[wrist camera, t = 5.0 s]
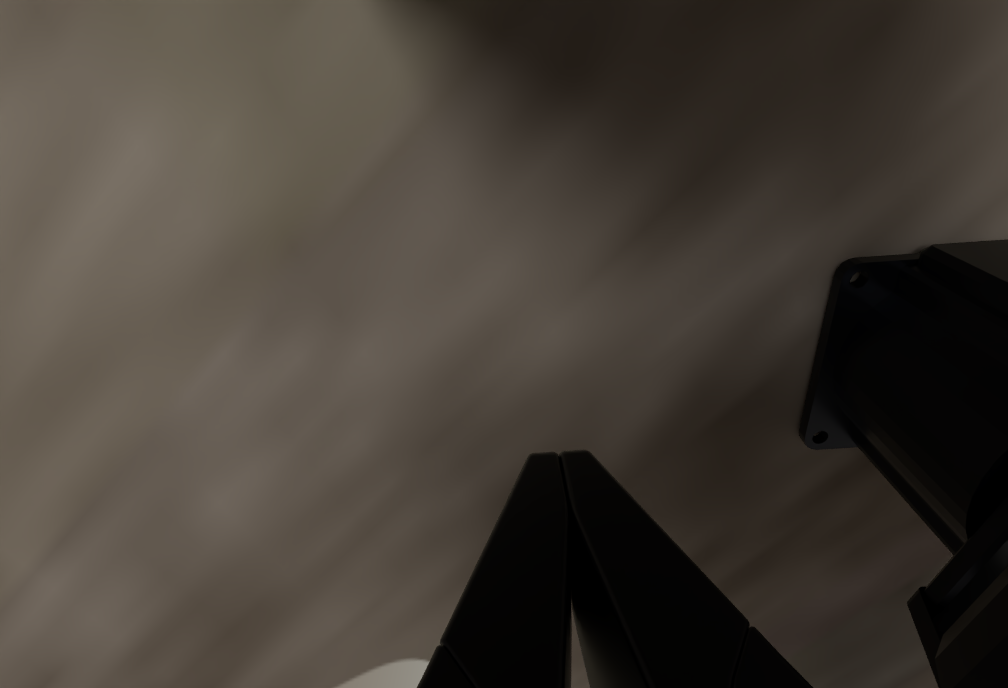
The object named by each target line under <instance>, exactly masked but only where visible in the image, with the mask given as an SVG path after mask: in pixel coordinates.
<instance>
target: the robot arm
mask: <svg viewBox="0 0 1008 688" xmlns="http://www.w3.org/2000/svg"><path fill="white" fill-rule="evenodd" d="M860 271H861V274H860V276H859V278H858V279H857V280H855V281H854V282H851V283H850V279H851V277H852V276H853V275H854V274H855V273H856V272H860ZM820 431H821V432H820ZM817 432H820V433H819V434H818V435H816V436H814V434H816V433H817ZM799 436H800V438H801V439H802V440H803V442H804V443H805V444H806V446H807V447H809V448H811V449H816V450H819V449H835V448H851V447H859V449H860V450H861V451H862V452H863V453H864V454H865V455H866V457H867V458H868V459H869V460H870V461H871V462H872V463H873V464H874V466H875V467H876V468H877V469H878V470H879V471H880V472H881V474H882V475H883V476H884V477H885V478H886V479H887V480H888V481H889V483H890V484H891V485H892V486H893V487H894V488H895V489H896V490H897V492H898V493H899V494H900V495H901V496H902V497H903V498H904V500H905V501H906V502H907V503H908V504H909V505H910V506H911V507H912V509H913V510H914V511H915V512H916V513H917V514H918V515H919V516H920V518H921V519H922V520H923V521H924V522H925V523H926V524H927V526H928V527H929V528H930V529H931V530H932V531H933V532H934V533H935V535H936V536H937V537H938V538H939V539H940V540H941V541H942V542H943V544H944V545H945V546H946V547H947V548H948V549H949V550H950V552H951V553H952V554H953V555H954V556H953V557H952V558H951V559H950V561H949V562H948V563H947V564H946V565H945V566H944V567H943V569H942V570H941V571H940V572H939V573H938V574H937V575H936V577H935V578H934V579H933V580H932V581H931V582H930V584H929V585H928V586H927V587H920V588H919V589H918V590H917V591H916V593H915V594H914V595H913V596H912V597H911V598H910V600H909V601H908V602H907V604H908V608H909V610H910V613H911V615H912V618H913V621H914V623H915V626H916V629H917V631H918V634H919V637H920V639H921V642H922V645H923V647H924V650H925V652H926V655H927V658H928V660H929V663H930V666H931V668H932V671H933V674H934V676H935V679H936V682H937V684H938V687H939V688H1008V240H995V241H980V242H965V243H950V244H935V245H931V246H929V247H927V248H925V249H924V250H922V251H921V253H919V254H904V255H889V256H874V257H859V258H852V259H848V260H847V261H845V262H843V263H842V264H841V265H840V266H839V267H838V268H837V269H836V272H835V274H834V277H833V282H832V286H831V290H830V295H829V299H828V304H827V308H826V313H825V317H824V322H823V326H822V331H821V335H820V340H819V344H818V348H817V353H816V357H815V362H814V366H813V371H812V375H811V380H810V384H809V389H808V393H807V397H806V402H805V406H804V411H803V415H802V420H801V424H800V429H799ZM571 603H572V610H573V615H574V620H575V625H576V630H577V634H578V638H579V642H580V646H581V651H582V655H583V659H584V663H585V668H586V672H587V676H588V680H589V684H590V688H813V687H812V686H811V685H810V684H809V683H808V682H807V681H806V680H805V679H804V678H803V677H802V676H801V675H800V674H799V673H798V672H797V671H796V670H795V669H794V668H793V667H792V666H791V665H790V664H789V663H788V662H787V661H786V660H785V659H784V658H783V657H782V656H781V654H780V653H779V652H778V651H777V650H776V649H775V648H774V647H773V646H772V645H771V644H770V643H769V642H768V641H767V640H766V639H765V638H764V636H763V635H762V634H761V633H760V632H759V631H758V630H757V629H756V628H755V627H749V625H750V624H749V621H748V620H747V619H746V618H745V617H744V615H743V614H742V613H741V612H740V611H739V610H738V609H737V608H736V607H735V606H734V605H733V604H732V603H731V602H730V601H729V600H728V598H727V597H726V596H725V595H724V594H723V593H722V592H721V591H720V590H719V589H718V588H717V587H716V586H715V585H714V584H713V583H712V581H711V580H710V579H709V578H708V577H707V576H706V575H705V574H704V573H703V572H702V571H701V570H700V569H699V568H698V567H697V566H696V564H695V563H694V562H693V561H692V560H691V559H690V558H689V557H688V556H687V555H686V554H685V553H684V552H683V551H682V550H681V548H680V547H679V546H678V545H677V544H676V543H675V542H674V541H673V540H672V539H671V538H670V537H669V536H668V535H667V534H666V533H665V531H664V530H663V529H662V528H661V527H660V526H659V525H658V524H657V523H656V522H655V521H654V520H653V519H652V518H651V517H650V516H649V514H648V513H647V512H646V511H645V510H644V509H643V508H642V507H641V506H640V505H639V504H638V503H637V502H636V501H635V500H634V499H633V497H632V496H631V495H630V494H629V493H628V492H627V491H626V490H625V489H624V488H623V487H622V486H621V485H620V484H619V483H618V482H617V480H616V479H615V478H614V477H613V476H612V475H611V474H610V473H609V472H608V471H607V470H606V469H605V468H604V467H603V466H602V465H601V463H600V462H599V461H598V460H597V459H596V458H595V457H594V456H593V455H592V454H591V453H590V452H589V451H587V450H574V451H563V452H561V453H560V455H559V456H558V454H557V453H556V452H543V453H532V454H530V455H529V456H528V458H527V460H526V462H525V464H524V466H523V468H522V470H521V472H520V474H519V476H518V478H517V481H516V483H515V485H514V487H513V489H512V491H511V493H510V495H509V497H508V499H507V501H506V504H505V506H504V508H503V510H502V512H501V514H500V516H499V518H498V520H497V522H496V525H495V527H494V529H493V531H492V533H491V535H490V537H489V539H488V541H487V543H486V545H485V548H484V550H483V552H482V554H481V556H480V558H479V560H478V562H477V564H476V566H475V569H474V571H473V573H472V575H471V577H470V579H469V581H468V583H467V585H466V587H465V589H464V592H463V594H462V596H461V598H460V600H459V602H458V604H457V606H456V608H455V610H454V613H453V615H452V617H451V619H450V621H449V623H448V625H447V627H446V629H445V631H444V633H443V636H442V638H441V640H440V644H441V645H439V646H437V648H436V650H435V652H434V654H433V656H432V658H431V660H430V662H429V664H428V666H427V669H426V670H425V673H424V675H423V677H422V679H421V681H420V683H419V684H418V686H417V688H571V641H572V623H571Z"/></svg>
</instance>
